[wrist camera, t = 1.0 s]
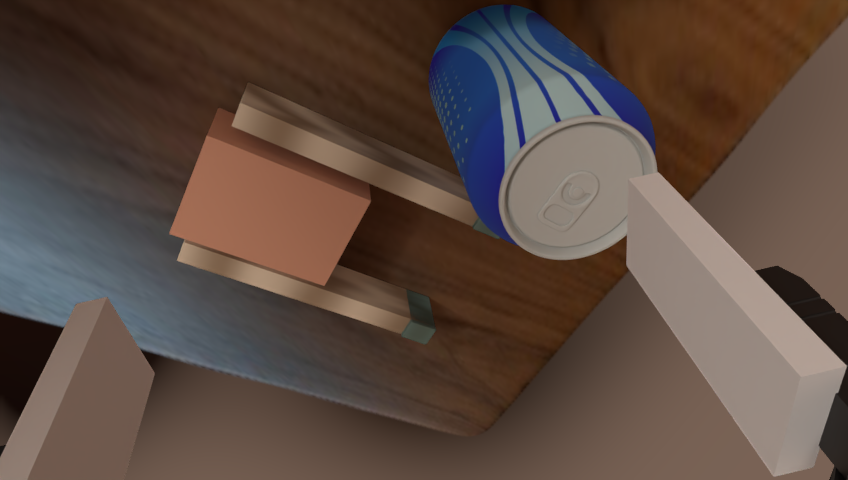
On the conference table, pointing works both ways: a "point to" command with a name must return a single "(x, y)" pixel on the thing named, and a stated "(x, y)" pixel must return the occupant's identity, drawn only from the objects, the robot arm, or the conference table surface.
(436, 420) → the conference table surface
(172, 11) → the conference table surface
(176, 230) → the block
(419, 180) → the tan piece
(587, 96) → the beer can
